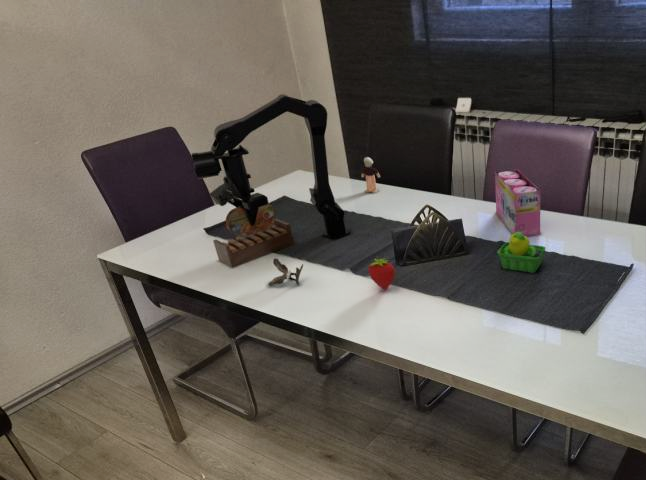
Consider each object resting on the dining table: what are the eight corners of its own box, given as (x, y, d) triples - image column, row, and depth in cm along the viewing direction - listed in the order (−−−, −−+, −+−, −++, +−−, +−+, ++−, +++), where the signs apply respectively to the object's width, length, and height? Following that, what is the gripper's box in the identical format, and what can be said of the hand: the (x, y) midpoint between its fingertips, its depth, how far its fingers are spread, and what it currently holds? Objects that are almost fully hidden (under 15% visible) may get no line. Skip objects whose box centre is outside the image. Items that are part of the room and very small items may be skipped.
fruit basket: (546, 263, 162) (547, 224, 155) (535, 278, 155) (536, 237, 149) (506, 258, 166) (506, 219, 160) (495, 272, 159) (493, 232, 153)
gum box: (494, 211, 197) (492, 170, 190) (517, 208, 198) (516, 167, 191) (515, 238, 177) (514, 193, 170) (541, 234, 178) (541, 190, 171)
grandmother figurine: (361, 193, 221) (355, 159, 215) (364, 190, 225) (359, 155, 218) (381, 193, 220) (376, 158, 213) (384, 189, 223) (379, 155, 216)
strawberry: (386, 298, 151) (381, 262, 146) (366, 291, 155) (360, 255, 150) (402, 289, 155) (398, 253, 149) (382, 282, 159) (377, 247, 153)
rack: (294, 243, 185) (289, 223, 182) (232, 267, 173) (225, 247, 170) (280, 237, 190) (275, 218, 187) (219, 260, 178) (212, 240, 175)
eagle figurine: (307, 271, 165) (276, 265, 166) (300, 258, 158) (268, 251, 159) (298, 295, 162) (266, 289, 163) (290, 283, 155) (258, 276, 156)
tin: (233, 240, 173) (226, 212, 169) (227, 238, 175) (221, 210, 171) (278, 226, 182) (273, 199, 178) (273, 223, 184) (268, 197, 180)
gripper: (193, 174, 169) (210, 226, 178) (225, 186, 158) (241, 241, 167) (230, 164, 176) (244, 214, 184) (262, 174, 164) (276, 228, 173)
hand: (250, 224), depth 177 cm, fingers closed on tin, 2 cm apart
